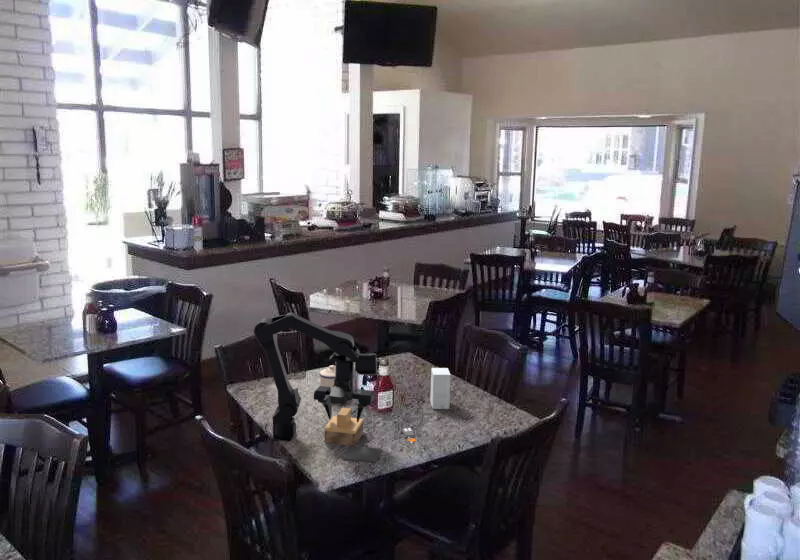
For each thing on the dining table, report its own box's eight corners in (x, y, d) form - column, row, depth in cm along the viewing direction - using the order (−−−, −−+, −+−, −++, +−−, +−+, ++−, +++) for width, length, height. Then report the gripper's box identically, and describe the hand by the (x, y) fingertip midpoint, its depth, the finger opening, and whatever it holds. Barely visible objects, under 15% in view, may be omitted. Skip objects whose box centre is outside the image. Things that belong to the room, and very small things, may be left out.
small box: (449, 409, 243) (450, 374, 241) (432, 409, 243) (433, 374, 240) (446, 401, 251) (448, 367, 249) (430, 401, 251) (431, 367, 248)
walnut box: (324, 442, 213) (324, 430, 212) (333, 430, 223) (333, 418, 222) (355, 445, 211) (355, 433, 211) (363, 433, 221) (363, 421, 220)
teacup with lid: (338, 401, 249) (338, 370, 247) (315, 398, 251) (315, 368, 249) (350, 390, 260) (350, 361, 258) (328, 387, 263) (328, 358, 260)
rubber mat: (343, 459, 202) (343, 457, 202) (351, 446, 211) (351, 445, 210) (375, 463, 200) (375, 461, 200) (382, 450, 209) (382, 448, 209)
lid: (324, 433, 213) (324, 415, 212) (333, 420, 222) (333, 404, 221) (355, 436, 211) (355, 418, 210) (363, 423, 220) (363, 407, 219)
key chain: (400, 431, 224) (400, 427, 224) (411, 431, 225) (411, 426, 224) (409, 448, 211) (409, 444, 211) (421, 447, 212) (421, 443, 212)
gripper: (307, 379, 207) (308, 427, 210) (366, 385, 203) (366, 433, 206) (319, 368, 218) (319, 414, 221) (375, 373, 214) (374, 419, 217)
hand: (344, 420), depth 216 cm, fingers open, 9 cm apart
